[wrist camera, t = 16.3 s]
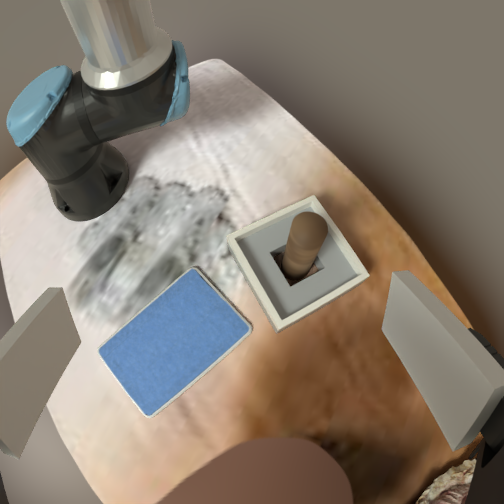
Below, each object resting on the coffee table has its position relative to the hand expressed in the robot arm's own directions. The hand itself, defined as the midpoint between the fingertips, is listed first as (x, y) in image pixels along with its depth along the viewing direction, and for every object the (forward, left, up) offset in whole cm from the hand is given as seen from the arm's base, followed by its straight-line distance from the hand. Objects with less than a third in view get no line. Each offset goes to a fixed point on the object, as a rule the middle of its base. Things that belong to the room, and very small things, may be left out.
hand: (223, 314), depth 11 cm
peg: (-8, +13, -30) cm, 33 cm away
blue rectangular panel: (-6, -8, -30) cm, 32 cm away
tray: (-8, +13, -30) cm, 33 cm away
